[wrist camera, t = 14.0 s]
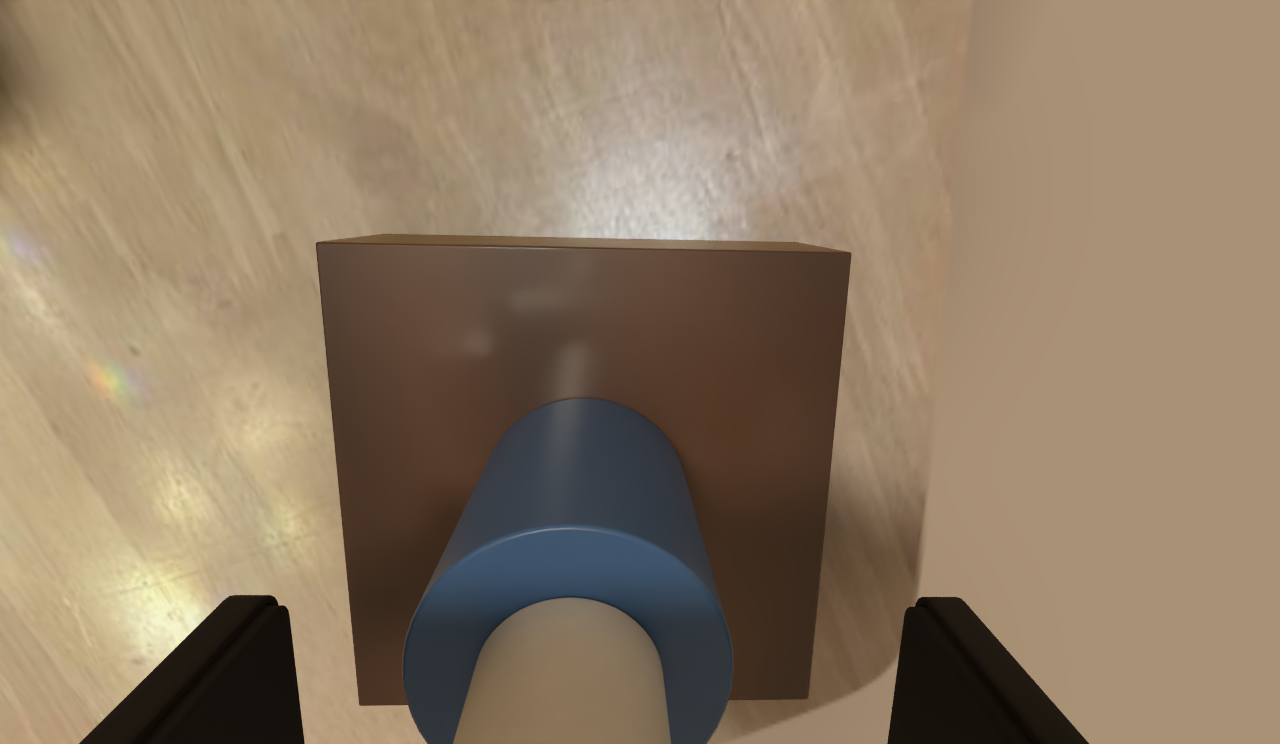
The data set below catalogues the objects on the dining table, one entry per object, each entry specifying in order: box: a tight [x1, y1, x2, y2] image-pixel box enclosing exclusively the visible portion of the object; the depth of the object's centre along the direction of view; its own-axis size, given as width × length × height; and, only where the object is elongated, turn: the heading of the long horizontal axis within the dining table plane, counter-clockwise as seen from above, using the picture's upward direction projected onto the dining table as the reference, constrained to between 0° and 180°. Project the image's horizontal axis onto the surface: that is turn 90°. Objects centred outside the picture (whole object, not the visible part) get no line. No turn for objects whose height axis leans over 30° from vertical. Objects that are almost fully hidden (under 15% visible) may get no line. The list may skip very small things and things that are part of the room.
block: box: [316, 234, 851, 706], centre depth 18 cm, size 12×12×4 cm
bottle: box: [402, 398, 734, 744], centre depth 12 cm, size 5×5×10 cm
